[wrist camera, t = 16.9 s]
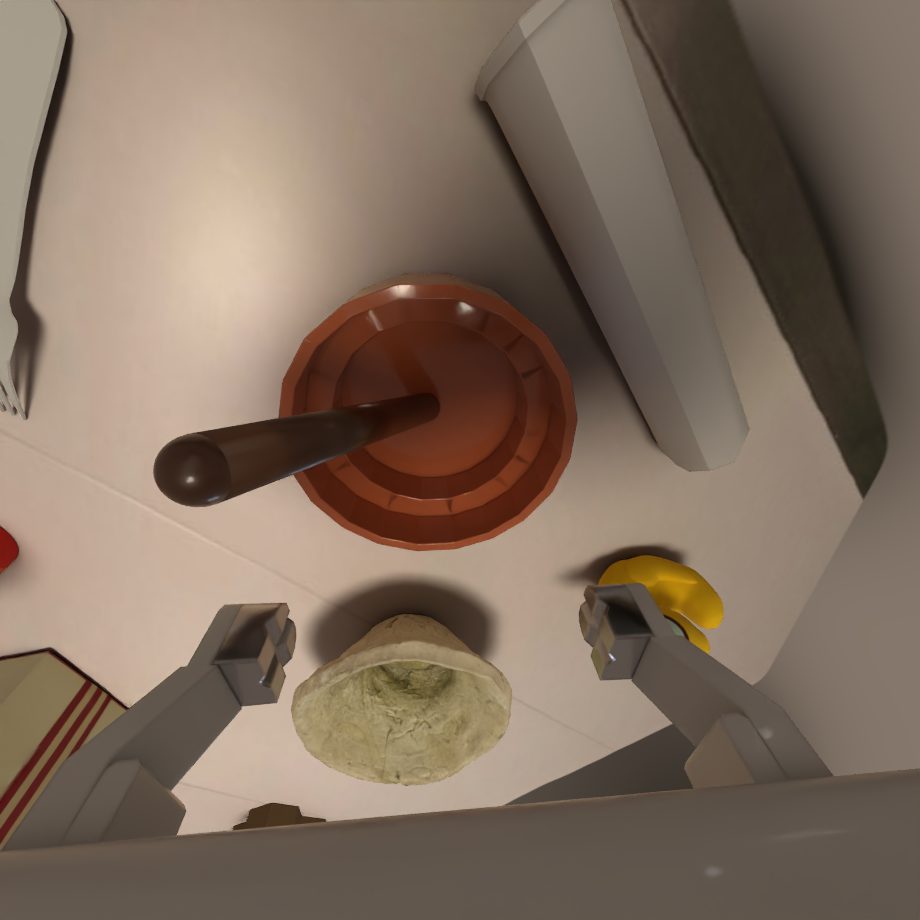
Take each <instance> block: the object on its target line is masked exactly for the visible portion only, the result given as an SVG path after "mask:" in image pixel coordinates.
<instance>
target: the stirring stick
mask: <svg viewBox="0 0 920 920" xmlns="http://www.w3.org/2000/svg"><path fill="white" fill-rule="evenodd" d="M439 413H440V402H439V400H438V399H437V397H436V396H434V395H433V394H431V393H420V394H414V395H408V396H403V397H397V398H391V399H385V400H380V401H374V402H368V403H363V404H357V405H351V406H345V407H340V408H334V409H328V410H323V411H317V412H311V413H305V414H300V415H294V416H288V417H283V418H277V419H271V420H265V421H260V422H254V423H248V424H243V425H237V426H231V427H225V428H220V429H214V430H208V431H203V432H197V433H191V434H187V435H183V436H180V437H177V438H176V439H174V440H172V441H170V442H169V443H168V444H166V445H165V446H164V447H163V448H162V449H161V451H160V452H159V454H158V455H157V457H156V459H155V463H154V469H153V474H154V479H155V482H156V484H157V486H158V488H159V489H160V491H161V492H162V493H163V494H164V495H165V496H167V497H168V498H169V499H171V500H172V501H174V502H176V503H179V504H181V505H185V506H190V507H206V506H211V505H214V504H218V503H220V502H223V501H225V500H228V499H231V498H233V497H236V496H238V495H241V494H244V493H246V492H249V491H251V490H254V489H256V488H259V487H262V486H264V485H267V484H269V483H272V482H275V481H277V480H280V479H282V478H285V477H287V476H290V475H293V474H295V473H298V472H300V471H303V470H306V469H308V468H311V467H313V466H316V465H318V464H321V463H324V462H326V461H329V460H331V459H334V458H337V457H339V456H342V455H344V454H347V453H350V452H352V451H355V450H357V449H360V448H362V447H365V446H368V445H370V444H373V443H375V442H378V441H381V440H383V439H386V438H388V437H391V436H393V435H396V434H399V433H401V432H404V431H406V430H409V429H412V428H414V427H417V426H419V425H422V424H424V423H427V422H430V421H432V420H434V419H435V418H436V417H437V416H438V415H439Z"/></svg>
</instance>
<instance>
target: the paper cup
mask: <svg viewBox="0 0 920 920" xmlns="http://www.w3.org/2000/svg"><path fill="white" fill-rule="evenodd" d="M17 556H18V547H17V544H16V542H15V541H14V539H13V538H12V537H11V536H10V535H9V534H8V533H7V532H6V531H5V530H4V529H2V528H1V527H0V574H1V573H2V572H3V571H4V570H5V569H6V568H7V567H8V566H9V565H10V564H11V563H12V562H13V561H14V560H15V559H16V558H17Z"/></svg>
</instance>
